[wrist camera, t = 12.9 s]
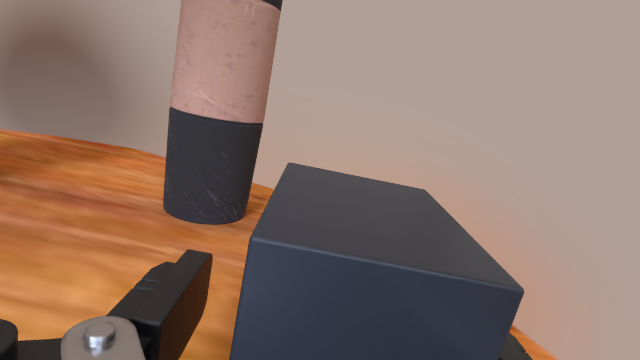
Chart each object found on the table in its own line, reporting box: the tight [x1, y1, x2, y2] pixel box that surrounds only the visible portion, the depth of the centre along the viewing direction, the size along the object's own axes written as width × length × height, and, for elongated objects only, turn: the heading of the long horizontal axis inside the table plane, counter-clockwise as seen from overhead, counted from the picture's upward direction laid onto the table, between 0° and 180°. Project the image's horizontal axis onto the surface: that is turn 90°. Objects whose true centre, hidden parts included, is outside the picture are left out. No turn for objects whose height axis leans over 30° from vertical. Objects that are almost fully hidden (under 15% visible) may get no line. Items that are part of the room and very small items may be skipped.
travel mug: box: [164, 0, 282, 224], centre depth 30 cm, size 8×8×20 cm
